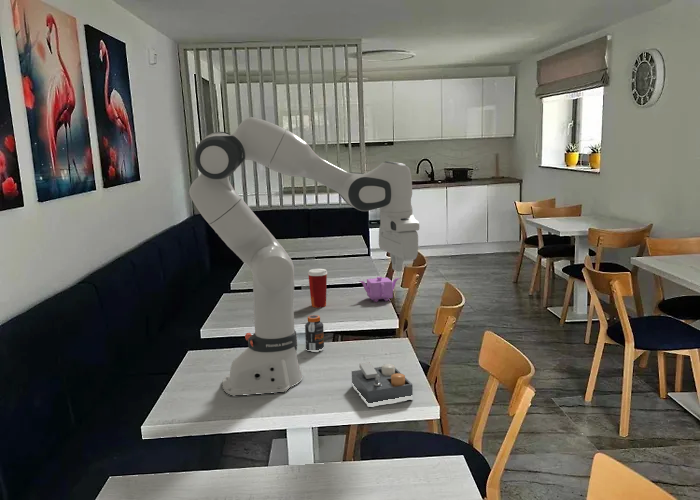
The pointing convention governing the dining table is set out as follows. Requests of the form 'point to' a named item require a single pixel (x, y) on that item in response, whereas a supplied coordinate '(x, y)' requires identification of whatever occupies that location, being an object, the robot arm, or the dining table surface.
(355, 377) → the console
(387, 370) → the button ivory
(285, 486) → the dining table surface
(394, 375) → the button orange
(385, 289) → the teapot
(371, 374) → the rocker
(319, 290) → the coffee cup
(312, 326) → the pill bottle
